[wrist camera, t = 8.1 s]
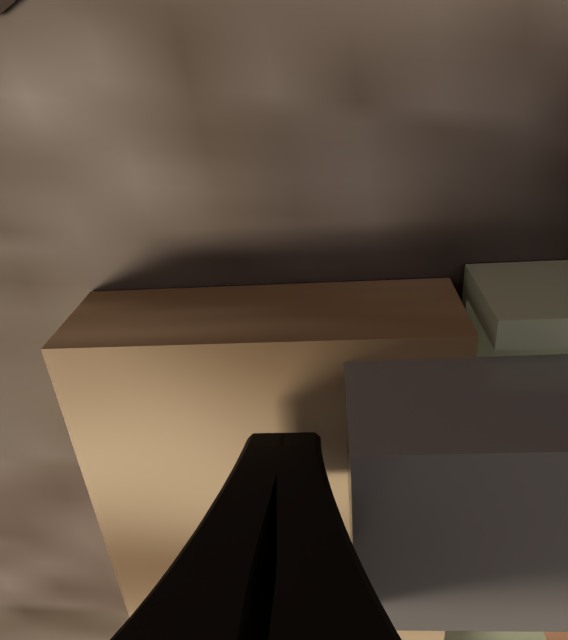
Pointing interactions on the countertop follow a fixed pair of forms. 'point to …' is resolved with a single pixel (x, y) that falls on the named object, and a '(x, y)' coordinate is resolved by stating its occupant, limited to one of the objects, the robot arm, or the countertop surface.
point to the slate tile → (461, 490)
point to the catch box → (516, 335)
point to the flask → (5, 4)
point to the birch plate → (223, 393)
